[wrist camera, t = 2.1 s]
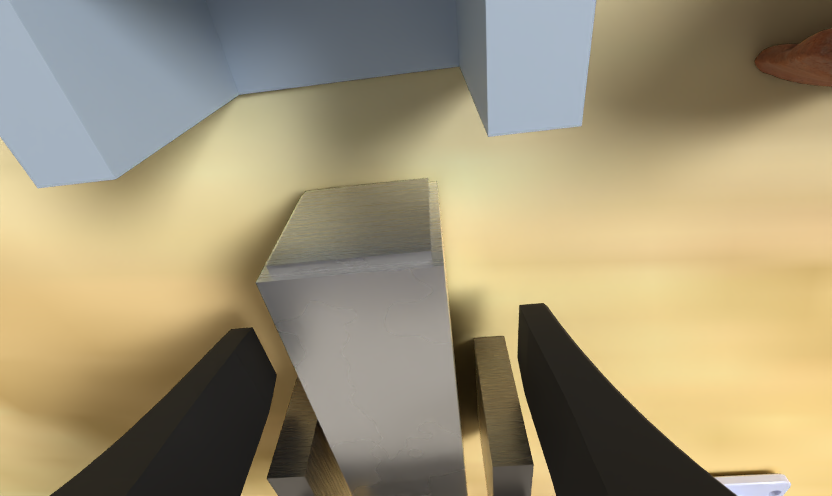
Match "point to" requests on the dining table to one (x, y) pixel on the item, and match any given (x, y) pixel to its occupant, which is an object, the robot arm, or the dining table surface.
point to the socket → (262, 66)
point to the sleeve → (498, 424)
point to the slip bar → (373, 333)
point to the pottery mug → (800, 60)
